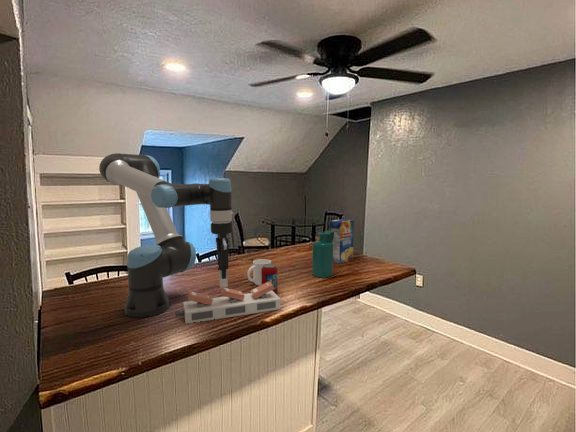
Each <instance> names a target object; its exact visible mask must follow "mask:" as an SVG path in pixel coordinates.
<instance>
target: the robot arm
mask: <svg viewBox="0 0 576 432" xmlns="http://www.w3.org/2000/svg"><path fill="white" fill-rule="evenodd" d="M98 170H99V174H100V176H101V177H102V178H103V179H104V180H105V181H106V182H108V183H111V184H112V185H117V186H120V185H121V186H123V187H126V188H128V189H130V190H132V191H134V192H136V194H137V195H136V196H137V197H138V199H139V202H140V205H141V206H142V210H143V212H144V214H145V216H146V219H147V222H148V224H149V227H150V229H151V231H152V234H153V236H154V239H155V240H156V243H155V244H148V245H142V246H138V247H135V248H133V249H131V250H130V251H129V252H128V253H127V255H126V267H127V280H128V295H127V298H126V301H125V304H124V314H125V315H126V316H127V315H128V316H127V317H130V316H131V318H148V317H153V316H156V315H159V314H162V313H163V312H166V311H167V310H168V309H169V308H170V303H169V302H170V301H169V297H168V296H167V293H166V290H165V289H164V282H163V281H164V278H167V277H169V276H170V277H171V276H173V275H176V274H179V273H183V272H184V273H185V272H186V271H188V270H190V269H192V268H193V267H194V265H195V263H196V258H197V251H196V247H195V246H194V244H193V243H191V242H190V241H186V240H185V238H184V236H183V235H181V234H179V233H178V232H177V229H176V226H175V224H174V222H173V220H172V218H171V216H170V212H169V210H168V209H169V208H170V209H171V208H176V207H186V206H197V205H209V209H210V210H209V218H210V220H209V221H210V222H211V223H210V233H211V234H212V235H216V237H215V244H216V255H217V265H218V268H217V271H218V277H219V279H218V280H219V281H218V282H219V283H218V284H219V288H222V287H224V288H228V285H229V284H228V269H229V255H230V254H229V251H230V249H229V248H230V244H229V242H230V241H229V238H228V234H232V232H233V222H232V220H233V215H234V212H233V208H232V205H233V203H232V201H233V200H232V196H233V195H232V194H233V193H232V190H233V189H232V183H231V182H232V181H231V179H230V178H223V177H221V178H218V177H217V178H213V177H211V178H209V180H208V183H194V182H193V183H178V184H177V183H176V184H175V183H171V182H168V181H166V180H164V179H161V178H160V176H161V172H160V171H161V168H160V164H159V162H158V161H157V159H155V157H153V156H151V155H147V154H139V153H138V154H134V153H133V154H132V153H117V152H115V153H110V154H108V155H106V156H105V157H103V159H101V161H100V163H99V167H98Z"/></svg>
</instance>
